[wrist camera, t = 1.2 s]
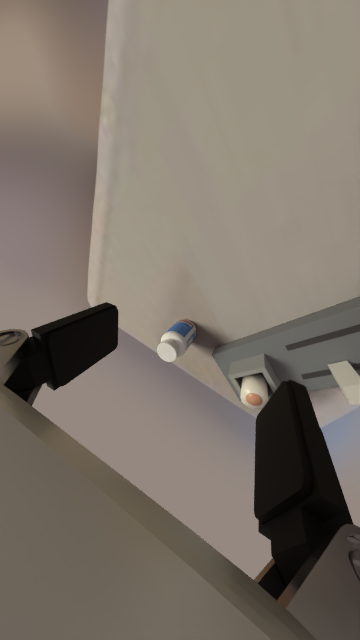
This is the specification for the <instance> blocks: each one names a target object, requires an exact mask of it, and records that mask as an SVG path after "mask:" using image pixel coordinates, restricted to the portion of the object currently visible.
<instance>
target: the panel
mask: <svg viewBox="0 0 360 640" xmlns="http://www.w3.org/2000/svg"><path fill="white" fill-rule="evenodd" d="M212 356H213V358H214V359H215V361H216V363H217V364H218V366H219V367H220V369H221V371H222V372H223V374H224V376H225V377H226V379H227V380H228V382H229V384H230V385H231V387H232V389H233V390H234V392H235V394H236V395H237V397H238V398H239V400H240V401H241V398H240V395H241V386H242V378H243V376H247V375H252V374H256V373H258V374H260V375H262V376H263V377H264V378H265V379H266V381H267V389H268V400H269V399H270V398H271V396H272V395H273V394H274V392H275V391H276V389H277V388H278V387H279V385H280V384H281V382H282V381H288V380H293V381H295V382H297V383H300V384H302V385H304V386H306V388H307V391H312V390H319V389H325V388H332V387H339V386H338V384H337V382H336V380H335V379H334V377H333V375H332V373H331V371H330V369H329V367H328V364H333V363H338V362H343V361H348V363H349V364H350V365H351V366H352V367H353V369H354V370H355V371H356V372H357V374H358V375H359V376H360V297H357V298H354V299H351V300H349V301H346V302H343V303H340V304H337V305H335V306H332V307H329V308H326V309H323V310H320V311H318V312H315V313H312V314H309V315H306V316H304V317H301V318H298V319H295V320H292V321H289V322H287V323H284V324H281V325H278V326H275V327H273V328H270V329H267V330H264V331H261V332H258V333H256V334H253V335H250V336H247V337H244V338H241V339H239V340H236V341H233V342H230V343H227V344H225V345H222V346H219V347H216V348H215V349H214V352H213V354H212Z"/></svg>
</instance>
